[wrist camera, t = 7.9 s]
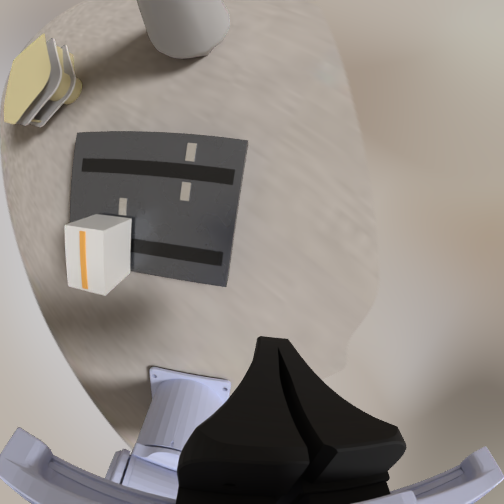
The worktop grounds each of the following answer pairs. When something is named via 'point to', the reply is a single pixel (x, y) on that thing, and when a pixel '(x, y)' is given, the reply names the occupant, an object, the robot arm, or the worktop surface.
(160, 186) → the console
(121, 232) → the white striped block
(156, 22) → the salt shaker
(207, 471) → the robot arm
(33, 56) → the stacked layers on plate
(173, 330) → the worktop surface
